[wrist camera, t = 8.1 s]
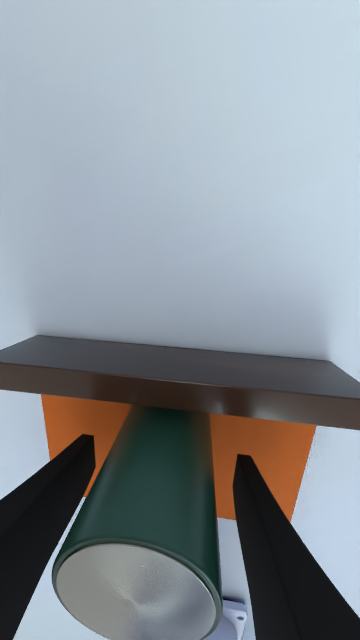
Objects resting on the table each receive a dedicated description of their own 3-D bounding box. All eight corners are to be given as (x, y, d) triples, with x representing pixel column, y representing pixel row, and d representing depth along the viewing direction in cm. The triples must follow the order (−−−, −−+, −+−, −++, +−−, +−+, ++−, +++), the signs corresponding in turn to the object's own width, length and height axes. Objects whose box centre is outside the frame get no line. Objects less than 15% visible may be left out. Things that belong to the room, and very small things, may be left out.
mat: (286, 523, 14) (288, 528, 14) (57, 488, 15) (54, 492, 15) (323, 386, 11) (326, 389, 11) (39, 358, 13) (36, 361, 12)
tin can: (206, 457, 13) (214, 668, 6) (130, 447, 13) (58, 634, 6) (214, 388, 12) (234, 557, 5) (130, 380, 12) (38, 525, 5)
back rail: (324, 383, 11) (377, 433, 8) (39, 355, 13) (-20, 387, 9) (330, 360, 11) (389, 402, 7) (36, 334, 12) (-26, 360, 9)
